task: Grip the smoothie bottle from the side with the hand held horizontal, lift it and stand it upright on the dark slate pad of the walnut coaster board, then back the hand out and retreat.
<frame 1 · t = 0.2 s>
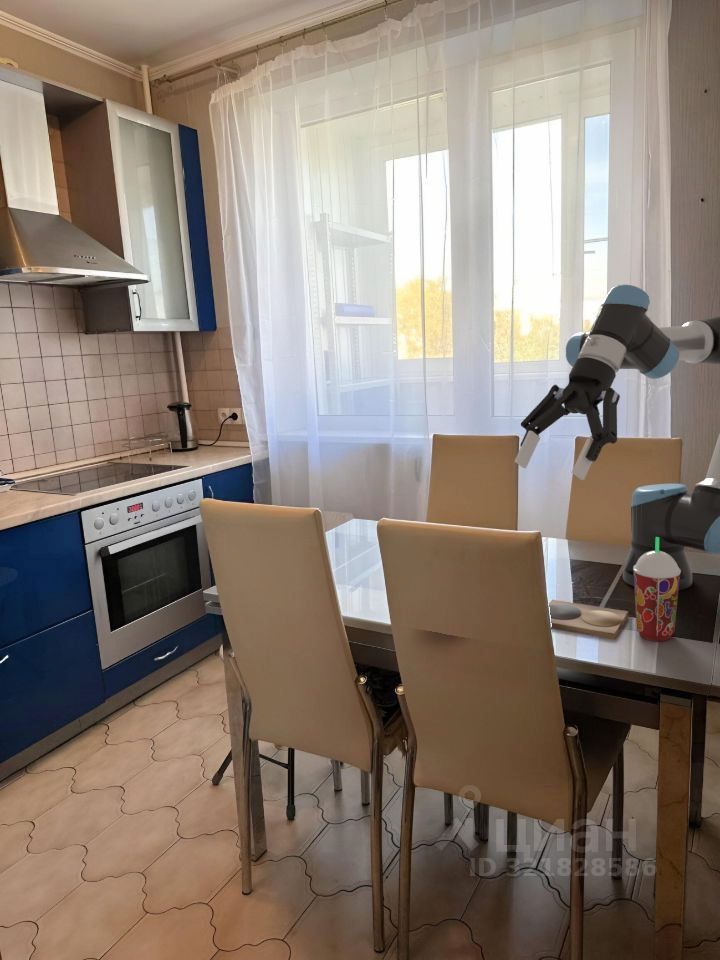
hand: (547, 470, 118), 36 cm above the table, tool tilted 35°, fingers open, 13 cm apart
smoothie: (655, 636, 131), on the table
coaster board: (581, 620, 140), on the table
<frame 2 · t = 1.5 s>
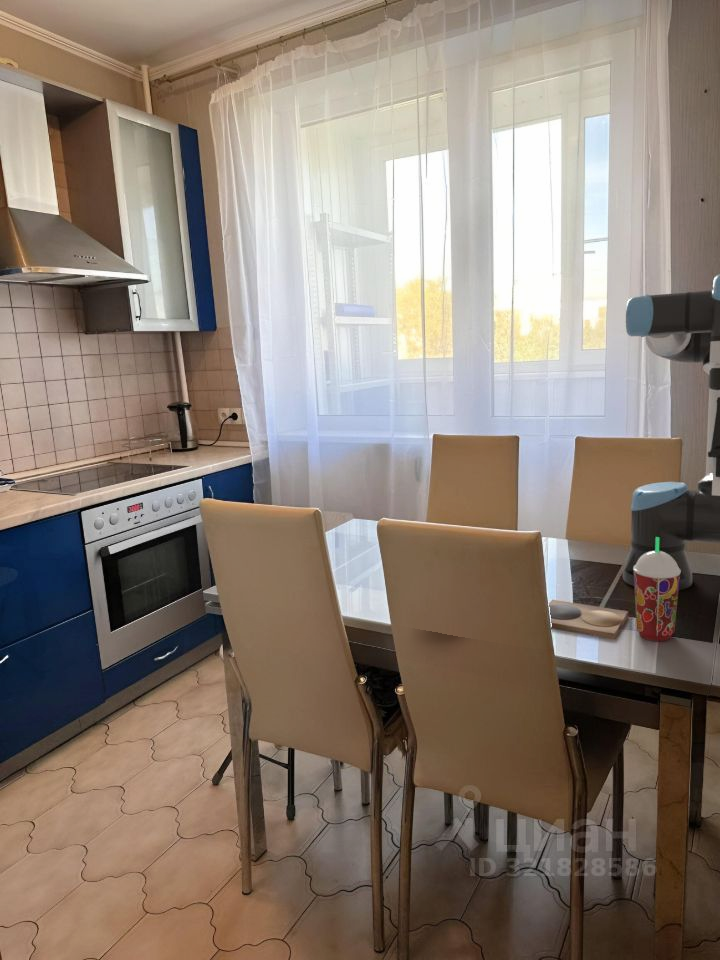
nothing on the table moved.
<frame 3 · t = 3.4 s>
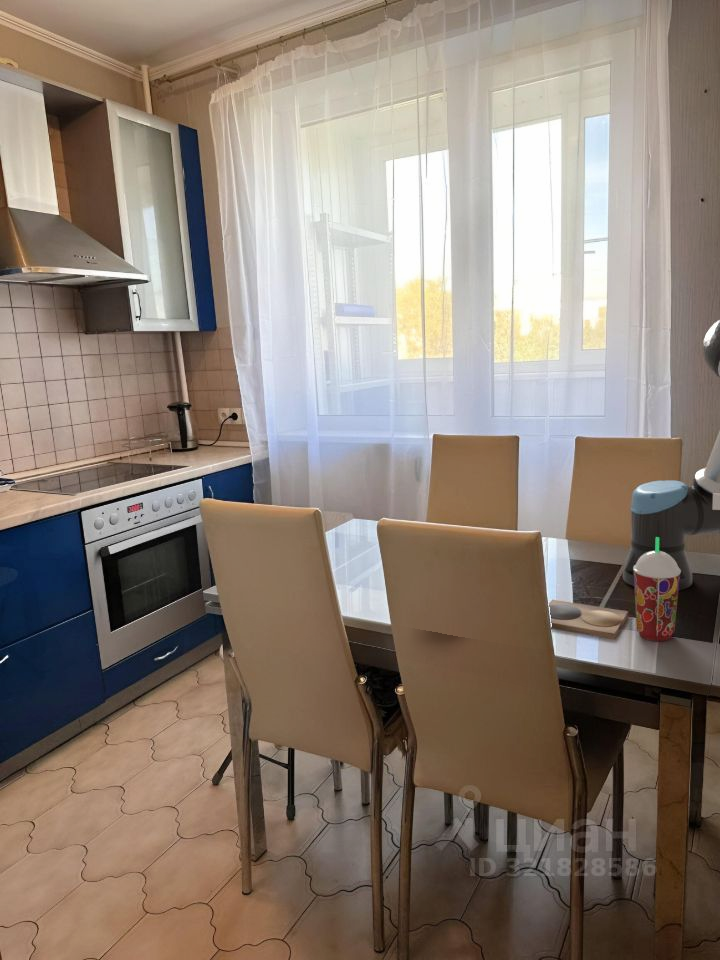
hand: (717, 492, 120), 29 cm above the table, tool horizontal, fingers open, 13 cm apart
nothing on the table moved.
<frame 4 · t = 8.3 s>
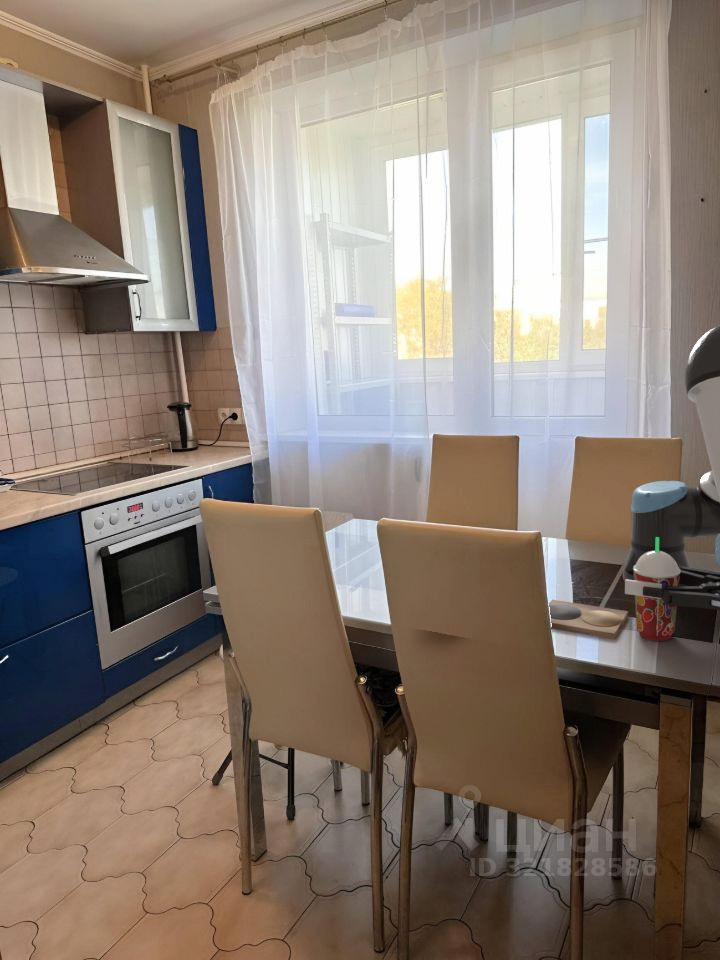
hand: (630, 579, 131), 11 cm above the table, tool horizontal, fingers closed on smoothie, 8 cm apart
smoothie: (655, 636, 131), on the table, touching gripper
everything else where it was.
when the fingers open (13 cm above the table, at t = 13.1 s): smoothie drops 1 cm, resting on coaster board.
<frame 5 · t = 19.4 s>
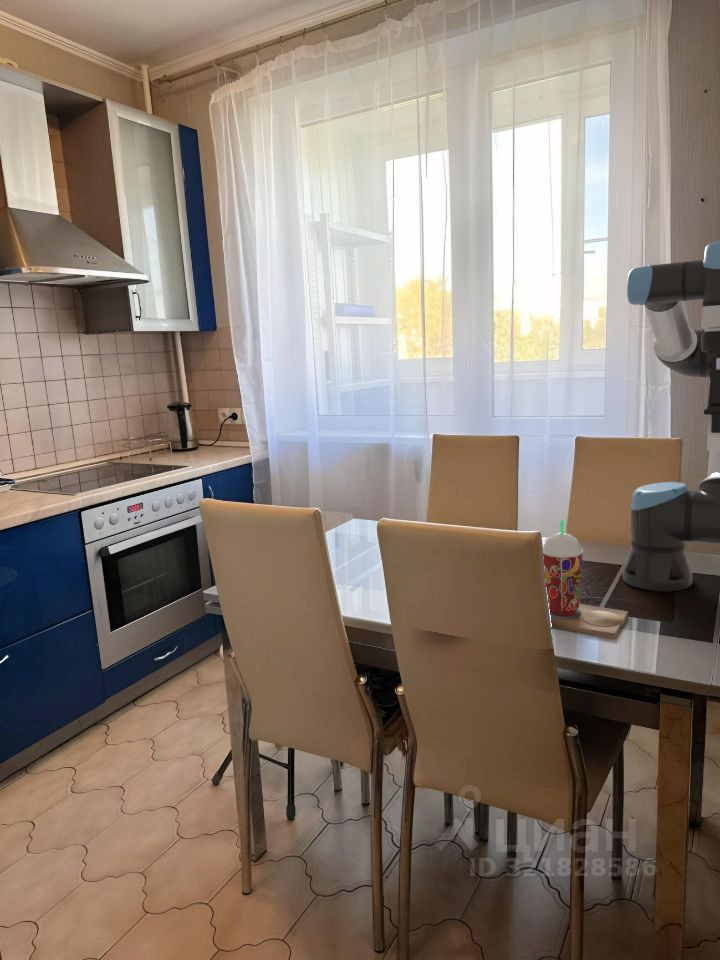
hand: (719, 444, 126), 37 cm above the table, tool pointing down, fingers open, 13 cm apart
smoothie: (562, 612, 142), point 1 cm above the table, touching coaster board
everything else where it was.
at the end: smoothie inside the target area on the coaster board (0.1 cm from its centre), point 1.2 cm above the coaster board's base; smoothie tilted 0°; the gripper is holding nothing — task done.
